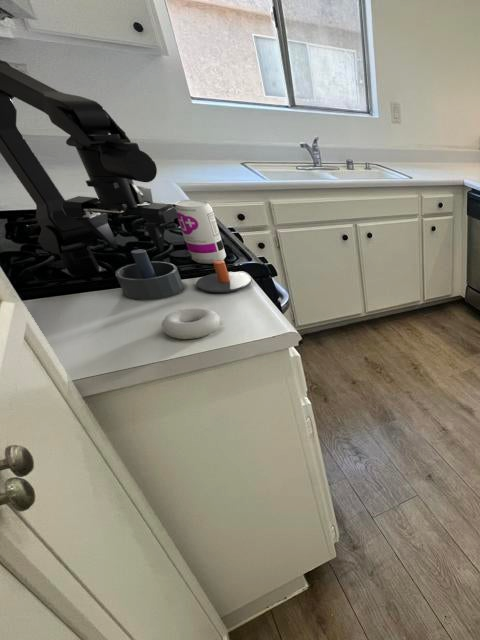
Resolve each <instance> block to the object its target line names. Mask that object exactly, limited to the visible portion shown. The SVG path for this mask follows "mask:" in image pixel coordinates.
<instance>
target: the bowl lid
mask: <svg viewBox="0 0 480 640" xmlns="http://www.w3.org/2000/svg"><path fill="white" fill-rule="evenodd" d="M212 264H213V267H214V270H215V272H214V273H210V274H207V275H204V276H201V277H200V278H198V280H197V281H196V287H197V288H198V289H200V290H201V291H204V292H209V293H229V292H236V291H239V290H242V289H245V288H247V287H249V285H251V283H252V282H253V281H252V278H251V276H250V275H249V274H247V273H243V272H240V271H239V272H238V271H228V269H227V266H226V262H225V260H215V261H213V263H212Z"/></svg>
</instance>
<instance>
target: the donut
mask: <svg viewBox="0 0 480 640" xmlns="http://www.w3.org/2000/svg"><path fill="white" fill-rule="evenodd" d="M220 325H221V318H220V315H218V313H216V312H215V311H214V310H211V309H208V308H204V307H189V308H183V309H179V310H176V311H173V312H171V313H169V314H168V315H166V316H165V318H164V319H163V320H162V322H161V328H162V331H163V332H164V333H165V334H166V335H167V336H168V337H172V338H175V339H180V340H192V339H199V338H203V337H206V336H209V335H211V334H213V333H214V332H216V331H217V330H218V329H219V327H220Z"/></svg>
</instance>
